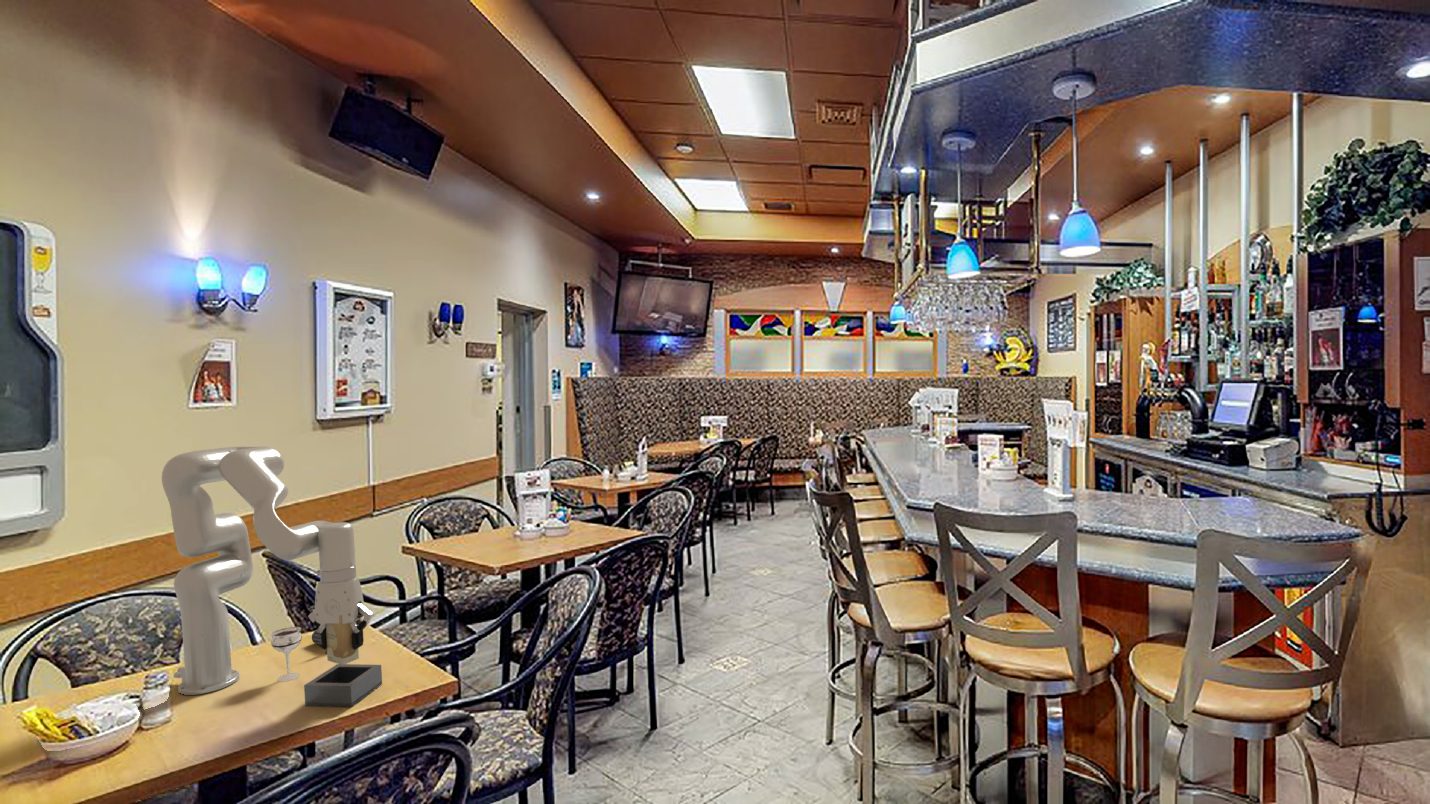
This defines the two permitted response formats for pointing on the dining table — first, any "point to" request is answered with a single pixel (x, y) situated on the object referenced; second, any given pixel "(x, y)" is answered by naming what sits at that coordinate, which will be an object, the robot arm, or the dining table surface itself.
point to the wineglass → (286, 646)
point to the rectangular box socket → (343, 685)
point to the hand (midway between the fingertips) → (342, 646)
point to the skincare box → (340, 643)
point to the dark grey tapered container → (317, 638)
